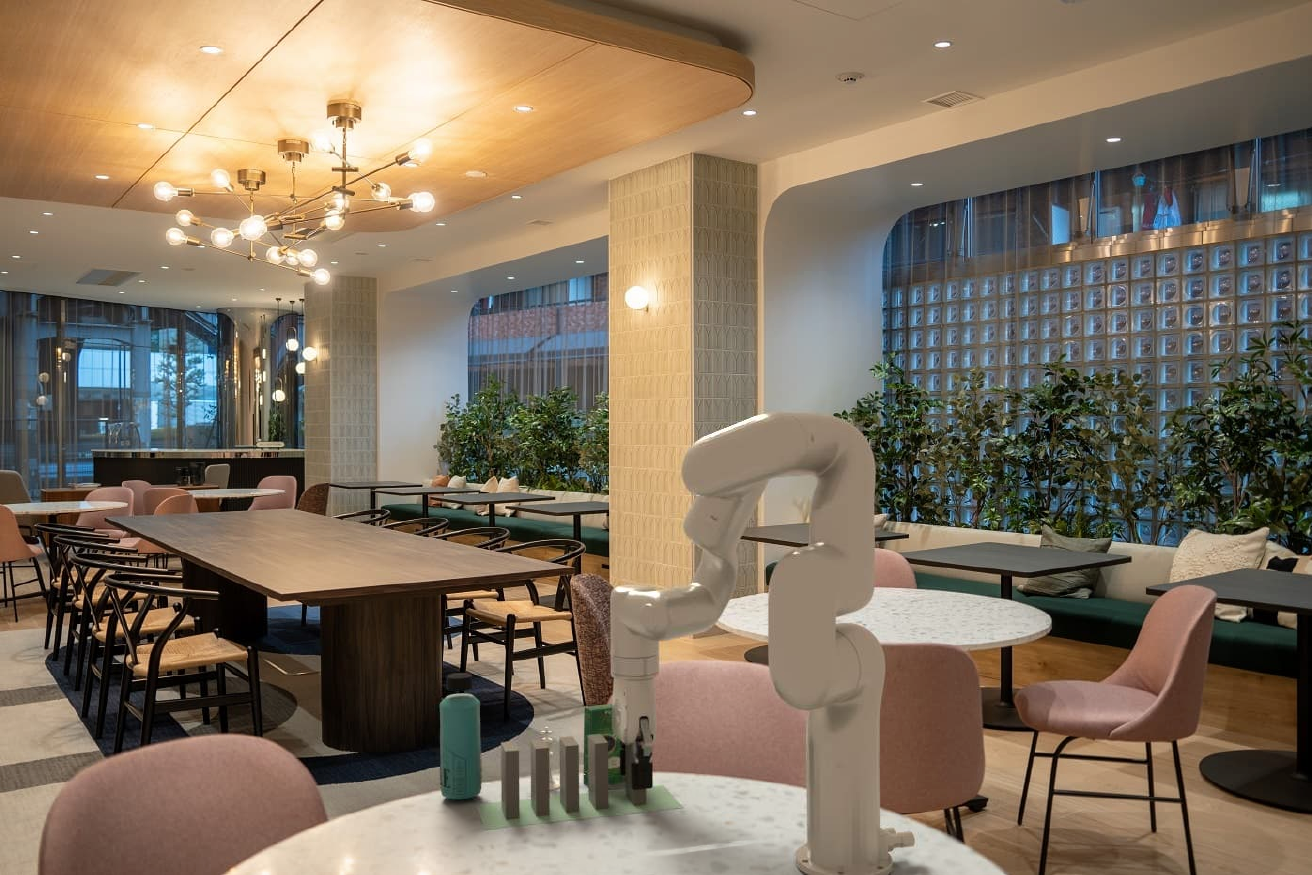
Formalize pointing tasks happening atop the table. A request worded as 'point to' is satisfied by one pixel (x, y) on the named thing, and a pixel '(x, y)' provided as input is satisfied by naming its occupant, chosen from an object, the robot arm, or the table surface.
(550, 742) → the chess piece
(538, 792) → the domino
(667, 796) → the mat
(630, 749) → the domino
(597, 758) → the domino
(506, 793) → the domino
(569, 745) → the domino
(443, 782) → the beverage bottle
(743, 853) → the table surface
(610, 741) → the coffee box
